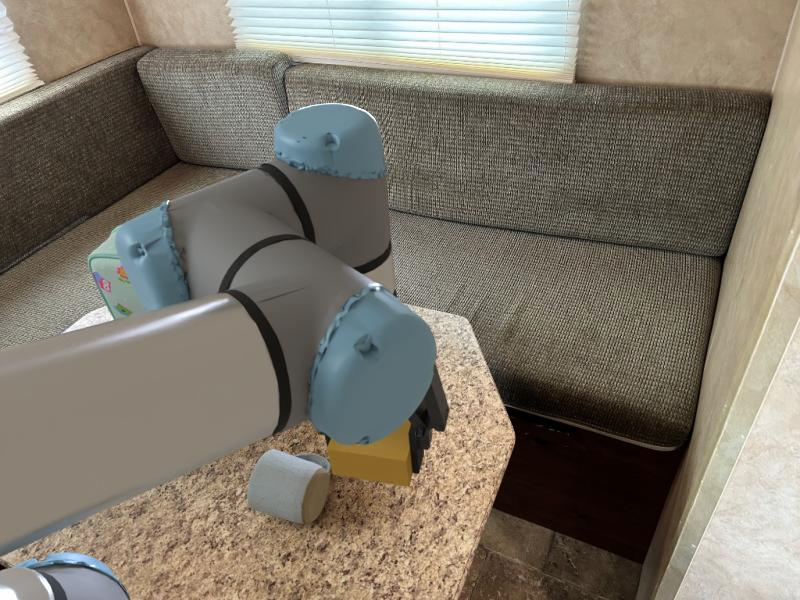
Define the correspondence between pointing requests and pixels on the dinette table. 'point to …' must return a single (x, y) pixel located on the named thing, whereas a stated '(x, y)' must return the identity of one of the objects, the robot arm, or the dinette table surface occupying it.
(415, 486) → the dinette table surface
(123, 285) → the lunch box
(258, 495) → the ceramic mug
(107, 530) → the dinette table surface
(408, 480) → the pad loose
